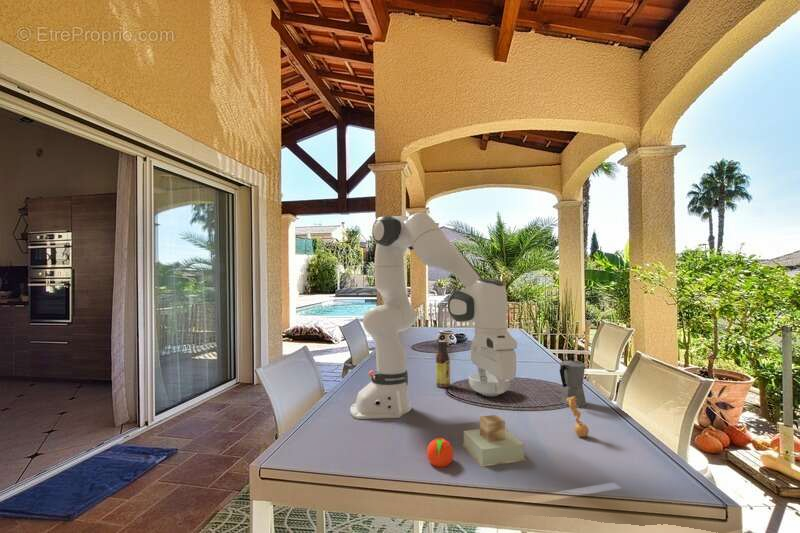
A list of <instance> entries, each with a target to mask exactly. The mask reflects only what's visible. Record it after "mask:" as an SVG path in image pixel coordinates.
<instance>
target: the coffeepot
mask: <svg viewBox="0 0 800 533" xmlns="http://www.w3.org/2000/svg"><path fill="white" fill-rule="evenodd" d="M569 359H570V360H563V361H560V362H559V376H560V380H561V384H562V390H561V396H560V403H561V404H562V403H564V404H565V405H564V404H563V405H564V406H566V405H567V407H570V406H569V404H568V403H567V398H569V397H573V396H575V397H576V400H575V402H576V405H577V406H578V408H583V407H585V406H586V405H587V400H586V397H585V391H584V386H583V383H584V378H585V376H584V375H585V370H586V363H583V362H582V361H577V360H575V356H574V355H569ZM576 405H575V407H576ZM576 408H577V407H576Z"/></svg>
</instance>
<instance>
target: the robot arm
mask: <svg viewBox="0 0 800 533" xmlns="http://www.w3.org/2000/svg"><path fill="white" fill-rule="evenodd" d="M371 231H372V238H373V239H374V241H375V243H376V246H375V252H374V286H375V289H376V291H377V292H378V293H379V294H380V296H381V299H382V303H383V304H381V305H380V304H379V305H376V306H374V307H371V308H369V309H368V310H367V311H366V312H365V313H364V315H363V320H362V325H363V328H364V330H365V331H366V332H367V333H368V334H369V335H370V336H371V339H372V341H373V343H374V347H375V355H376V356H375V358H376V359H375V360H376V370H375V371H374V370H369V372H368V375H369V377H370V378H371V379H370V380H371V381H370V382H369V383H368V384H366V385H365V386H364V387H363V388H362V389H360V390H359V392H358V393H357V396H356V399H355V400H356V401H355V403H352V405H350V410H349V411H350V415H351V416H352V417H353V418H355V419H358V420H365V419H366V420H368V419H370V420H371V419H396V418H397V419H398V418H401V417H402V416H403V415H404V414H407V413H409V412H410V411H411V410H412V406H411V402H410V398H409V397H410V396H409V390H408V385H409V384H408V383H409V374H408V370H407V349H406V347H404V346H403V345H402V343H401V340H400V337H399V332H400V333H401V332H405V331H406V330H407V331H408V329H410V328H411V327H413V326H414V325H415V323H416V321H417V312H416V310H415V308H414V307H413V305H412V304H411V303H410V300H409V297H408V294H407V290H406V283H405V282H406V281H405V278H406V277H405V262H404V261H405V260H404V259H405V258H404V256H405V255H404V254H405V252H406V250H407V249H409V250H410V251H412V250H414V252H415V253H414V254H416V256H417V257H418V259H419V260H420V261H421V262H422V263H423V264H424V265H426V266H428V267H431V268H435V269H439V270H442V271H445V272H448V273H450V274H451V275H453V276H455V277H457V279H458V280H459V281H460V283H461V284H462V285H463V286H464V288H461V289H458V290H454V291H453V292H452V293H451V294H450V296H449V298H448V299H447V310H448V313H449V316H450V317H451V319H452V320H454V321H456V322H459V323H473V322H474V337H473V339H472V340H471V345H470V361H471V363H472V364H473V365H475V366H476V367H477V373H479V376H480V382H482V383H487V382H488V381H487V379H488V377H487V376H486V372H489V373H491V374H493V375H494V376H496V377H497V381H498V382H497V385H495V391H496V392H497V393H498V394H499V395H501V394H504V393H505V392H504V385H505V383H506V380H510V381H512V380H514V379H515V378H516V374H517V353H516V351H515V350H517V349H518V348H517V347H518V342H517V340H516V339H515V338H514V337H513V336H512V335H511V333H510V332H509V331H508V323H507V314H508V295H507V294H508V293H507V288H506V286H505V283H504V282H502V281H501V280H498V279H495V278H488V277H487V278H486V277H482V275H481V274H480V273H479V272H478V271H477V269H476V268H475V267H474V265H473V264H472V263H471V261H469V259H468V258H467V257H466V256H465V255H464V254H463V253H462V252H460V251H459V249H457V248H456V247H455V245H453V243H452V242H451V241H450V240H449V239H448V238H447V236H446V235H445V234H444V232H443V231H442V229H441V228H440V227H439V225H438V224H437V222H436V221H435V220H434V219H433V218H432V216H430V215H429V214H427V213H426V212H421V211H420V212H415V213H413V214H411V215H410V216H406V215H396V216H394V215H393V216H391V215H383V216H380V217H378V218H376V220H375V221H374V222H373V225H372V229H371Z"/></svg>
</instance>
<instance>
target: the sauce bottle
mask: <svg viewBox="0 0 800 533" xmlns="http://www.w3.org/2000/svg"><path fill="white" fill-rule="evenodd" d="M437 345H438V346H437V348H438V349H437V351H438V352H437V353H436V354H435V386H436V387H438V388H444V389H445V388H448V387H450V386H451V359H450V356H449V354H448V350H447V349H448V348H447V346H448V341H446V340H438V341H437Z"/></svg>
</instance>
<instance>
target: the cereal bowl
mask: <svg viewBox="0 0 800 533" xmlns="http://www.w3.org/2000/svg"><path fill="white" fill-rule="evenodd" d="M486 376H487V377H488V379H487V381H488V382H487V383H482V382H480V376H479V372H474V373H470V374H469V375H468V382H469V386H470V387H471V389H472V390H473V391H474V392H477V393H479V395H481V394H482V396H484V395H485V396H484V397H497V396H500V394H498V393H497V392H496V391H495V385H497V382H498V381H497V377H496V376H494V375H493V374H491V373H489V372H487V371H486ZM511 381H512V380H506V383H505V385H504V393H506V392H507V391H508V390H509V389H510V386H511V383H512V382H511Z"/></svg>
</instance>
